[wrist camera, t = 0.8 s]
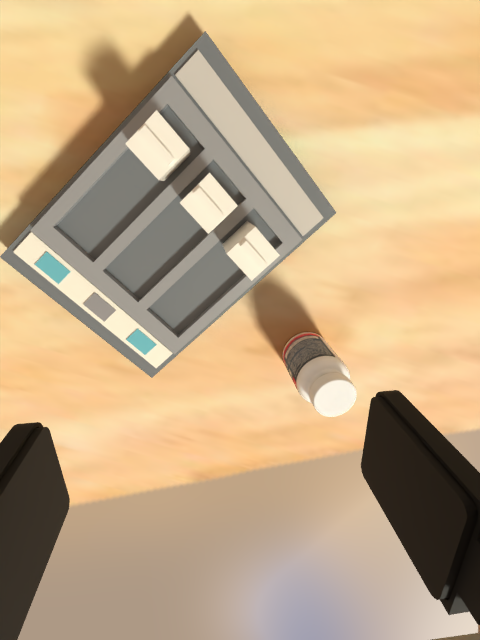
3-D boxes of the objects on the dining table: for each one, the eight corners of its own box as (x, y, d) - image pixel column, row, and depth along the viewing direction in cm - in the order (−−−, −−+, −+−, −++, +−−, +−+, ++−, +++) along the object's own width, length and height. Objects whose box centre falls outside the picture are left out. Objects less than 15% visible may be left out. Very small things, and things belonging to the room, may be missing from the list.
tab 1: (162, 122, 26) (155, 108, 21) (190, 154, 27) (189, 147, 22) (136, 150, 26) (123, 142, 22) (164, 181, 27) (157, 180, 23)
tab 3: (247, 220, 29) (256, 227, 25) (268, 246, 30) (281, 256, 26) (222, 244, 30) (227, 255, 25) (244, 268, 31) (252, 282, 26)
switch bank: (204, 42, 26) (205, 26, 23) (328, 211, 32) (339, 213, 29) (11, 252, 30) (-6, 258, 27) (154, 368, 36) (150, 382, 33)
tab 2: (207, 174, 28) (210, 172, 23) (231, 202, 29) (238, 206, 24) (181, 200, 28) (179, 203, 23) (206, 227, 29) (208, 235, 25)
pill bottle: (272, 356, 37) (293, 404, 29) (303, 322, 36) (334, 361, 28) (305, 380, 39) (334, 431, 31) (336, 347, 38) (375, 392, 30)
